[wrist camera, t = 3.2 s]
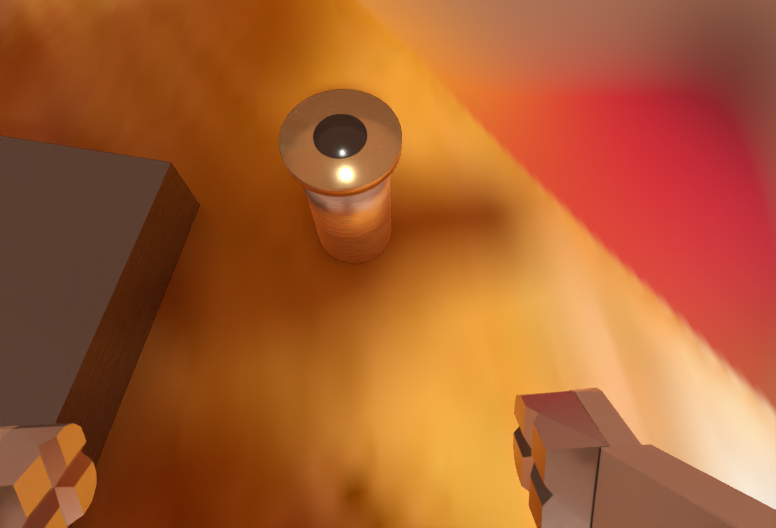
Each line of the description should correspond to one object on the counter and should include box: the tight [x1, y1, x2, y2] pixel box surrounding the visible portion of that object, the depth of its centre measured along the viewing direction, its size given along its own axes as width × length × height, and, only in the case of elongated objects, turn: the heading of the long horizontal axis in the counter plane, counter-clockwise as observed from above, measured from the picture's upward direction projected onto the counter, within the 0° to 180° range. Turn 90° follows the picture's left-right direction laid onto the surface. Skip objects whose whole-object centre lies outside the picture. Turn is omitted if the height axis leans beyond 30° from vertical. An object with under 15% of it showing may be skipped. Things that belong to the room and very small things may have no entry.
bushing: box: [279, 89, 402, 263], centre depth 24 cm, size 5×5×8 cm
